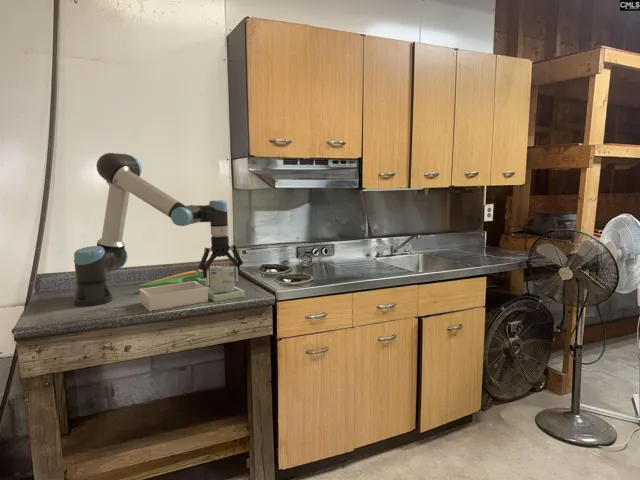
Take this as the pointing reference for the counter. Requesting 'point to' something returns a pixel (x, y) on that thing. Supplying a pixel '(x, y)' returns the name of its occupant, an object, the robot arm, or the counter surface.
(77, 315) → the counter surface
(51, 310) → the counter surface
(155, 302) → the deep bin
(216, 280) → the light bulb box
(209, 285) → the ammunition clip
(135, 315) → the counter surface
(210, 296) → the tray
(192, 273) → the toy spaceship
